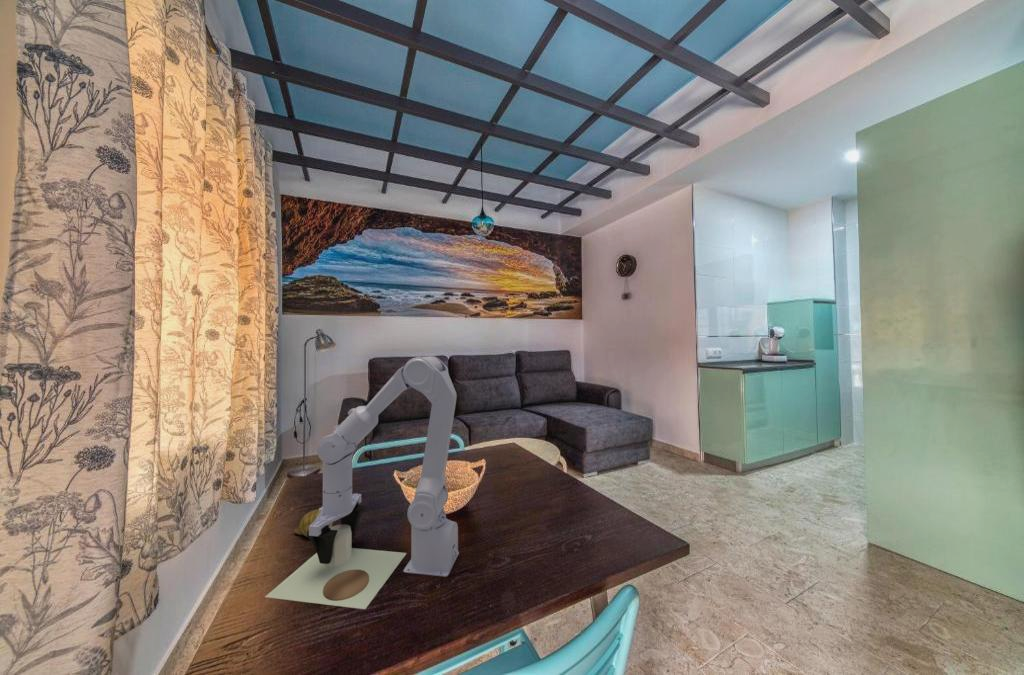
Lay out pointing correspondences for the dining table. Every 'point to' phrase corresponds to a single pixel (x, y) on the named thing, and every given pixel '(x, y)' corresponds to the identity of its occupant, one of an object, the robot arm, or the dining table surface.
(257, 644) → the dining table surface
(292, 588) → the placemat
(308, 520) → the seashell
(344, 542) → the cup
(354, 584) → the coaster
